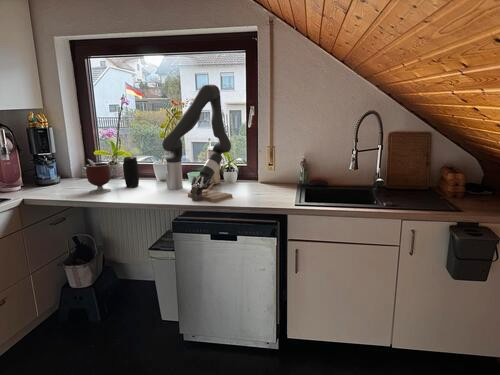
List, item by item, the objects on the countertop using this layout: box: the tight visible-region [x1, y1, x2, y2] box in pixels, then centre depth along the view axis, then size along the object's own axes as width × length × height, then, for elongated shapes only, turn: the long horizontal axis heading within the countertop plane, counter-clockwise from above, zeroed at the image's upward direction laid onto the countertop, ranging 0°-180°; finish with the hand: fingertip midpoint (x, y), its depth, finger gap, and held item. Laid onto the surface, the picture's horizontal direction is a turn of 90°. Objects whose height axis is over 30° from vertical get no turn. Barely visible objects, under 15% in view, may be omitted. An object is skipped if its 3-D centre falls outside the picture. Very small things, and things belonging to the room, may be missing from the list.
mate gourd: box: [85, 158, 112, 195], centre depth 222 cm, size 16×14×20 cm
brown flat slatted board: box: [187, 189, 233, 203], centre depth 206 cm, size 22×14×2 cm, turn 51°
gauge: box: [191, 184, 208, 202], centre depth 200 cm, size 4×10×8 cm, turn 141°
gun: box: [205, 164, 221, 190], centre depth 235 cm, size 24×3×15 cm, turn 168°
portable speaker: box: [122, 156, 140, 189], centre depth 235 cm, size 9×9×20 cm
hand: (194, 193), depth 197 cm, fingers closed on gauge, 4 cm apart
